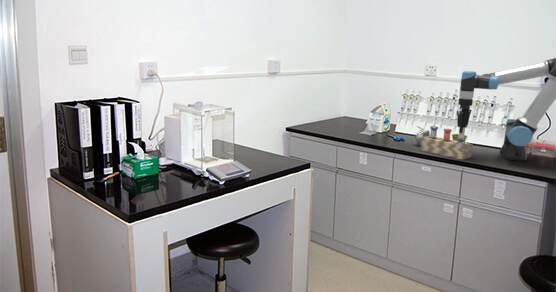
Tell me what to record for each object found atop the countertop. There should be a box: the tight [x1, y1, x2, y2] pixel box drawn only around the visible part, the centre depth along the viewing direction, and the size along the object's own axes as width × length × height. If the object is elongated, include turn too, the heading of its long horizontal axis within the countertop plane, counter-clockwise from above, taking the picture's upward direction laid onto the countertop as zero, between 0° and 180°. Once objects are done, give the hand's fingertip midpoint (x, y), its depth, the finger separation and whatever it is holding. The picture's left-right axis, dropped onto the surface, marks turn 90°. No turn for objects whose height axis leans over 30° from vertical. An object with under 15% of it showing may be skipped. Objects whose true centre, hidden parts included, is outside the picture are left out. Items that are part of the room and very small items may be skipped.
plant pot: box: [451, 133, 468, 143], centre depth 288 cm, size 9×9×9 cm
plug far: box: [429, 125, 439, 139], centre depth 279 cm, size 5×5×10 cm
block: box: [419, 136, 474, 161], centre depth 274 cm, size 28×10×8 cm, turn 40°
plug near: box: [457, 138, 466, 145], centre depth 267 cm, size 5×5×10 cm
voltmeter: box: [414, 125, 431, 147], centre depth 299 cm, size 27×11×10 cm, turn 4°
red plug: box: [442, 128, 453, 142], centre depth 273 cm, size 5×5×10 cm
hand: (461, 138), depth 266 cm, fingers closed
